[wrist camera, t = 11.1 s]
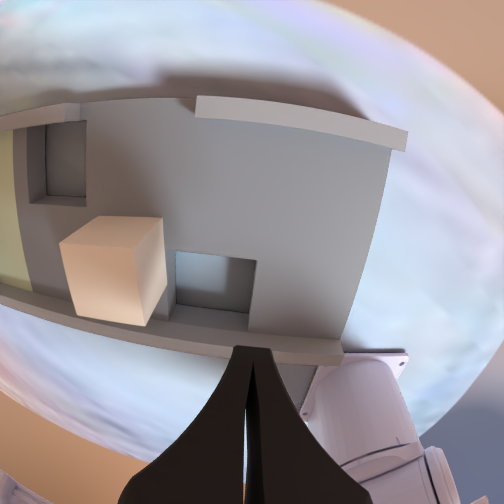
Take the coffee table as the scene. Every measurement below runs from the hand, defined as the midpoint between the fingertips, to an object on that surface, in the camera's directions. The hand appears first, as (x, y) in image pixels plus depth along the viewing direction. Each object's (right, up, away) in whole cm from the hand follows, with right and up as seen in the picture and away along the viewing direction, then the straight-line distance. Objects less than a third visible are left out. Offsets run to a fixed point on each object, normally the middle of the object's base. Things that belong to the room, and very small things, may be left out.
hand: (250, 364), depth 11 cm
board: (-7, +7, +6) cm, 12 cm away
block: (-7, +4, +5) cm, 9 cm away
